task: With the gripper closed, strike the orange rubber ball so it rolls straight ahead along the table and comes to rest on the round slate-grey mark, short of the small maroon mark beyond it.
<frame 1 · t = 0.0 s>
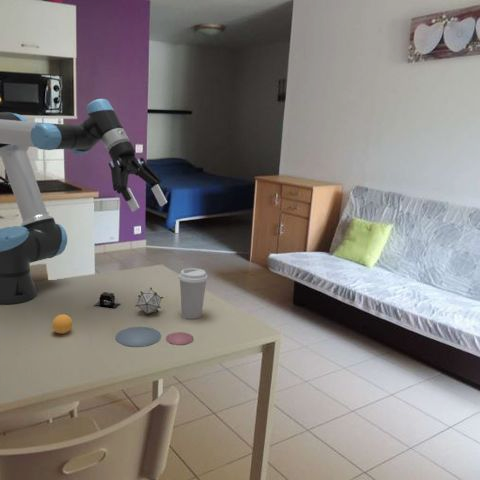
hand: (150, 207, 145), 36 cm above the table, tool tilted 35°, fingers open, 13 cm apart
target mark: (138, 336, 139), on the table
game die: (149, 313, 157), on the table
black boxy piece: (107, 307, 161), on the table
coffee cup: (191, 315, 157), on the table
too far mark: (179, 338, 140), on the table
ball: (62, 324, 138), on the table
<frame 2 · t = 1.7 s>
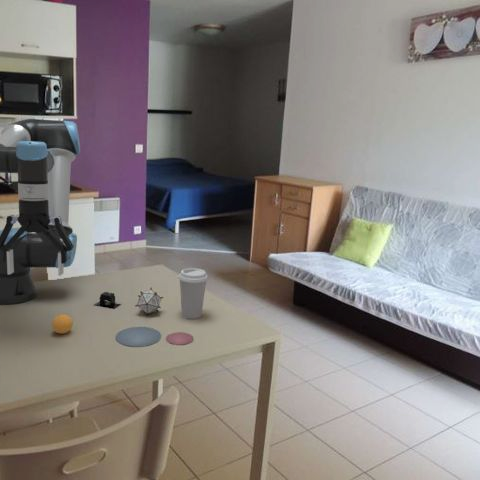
hand: (36, 273, 134), 18 cm above the table, tool pointing down, fingers open, 13 cm apart
nothing on the table moved.
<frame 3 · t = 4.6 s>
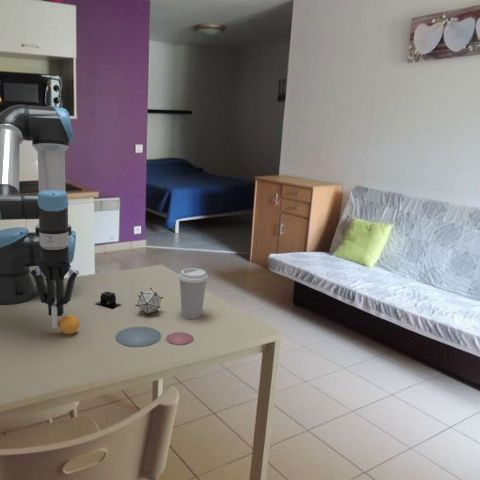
hand: (56, 325, 137), 2 cm above the table, tool pointing down, fingers closed
ball: (69, 324, 138), on the table
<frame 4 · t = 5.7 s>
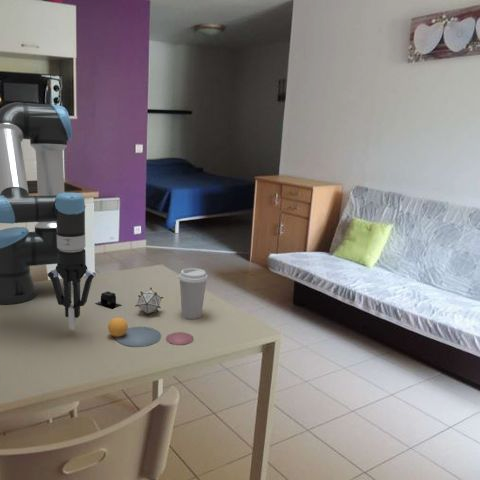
hand: (72, 327, 138), 2 cm above the table, tool pointing down, fingers closed
ball: (117, 327, 138), on the table
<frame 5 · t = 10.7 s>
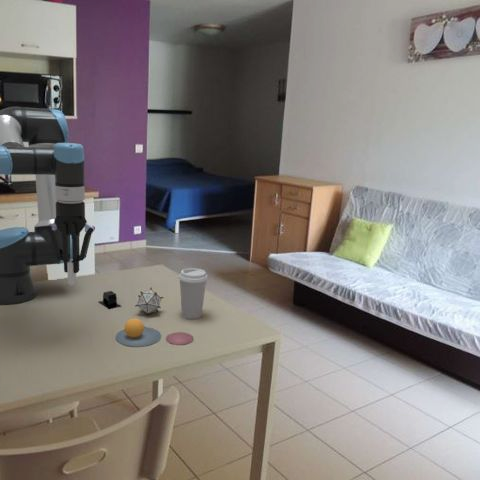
hand: (72, 283, 135), 15 cm above the table, tool pointing down, fingers closed
ball: (134, 328, 138), on the table
at the end: ball 1.3 cm from the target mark (horizontally); ball at rest at the end (0.0 cm/s); ball moved 20.8 cm from its start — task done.
